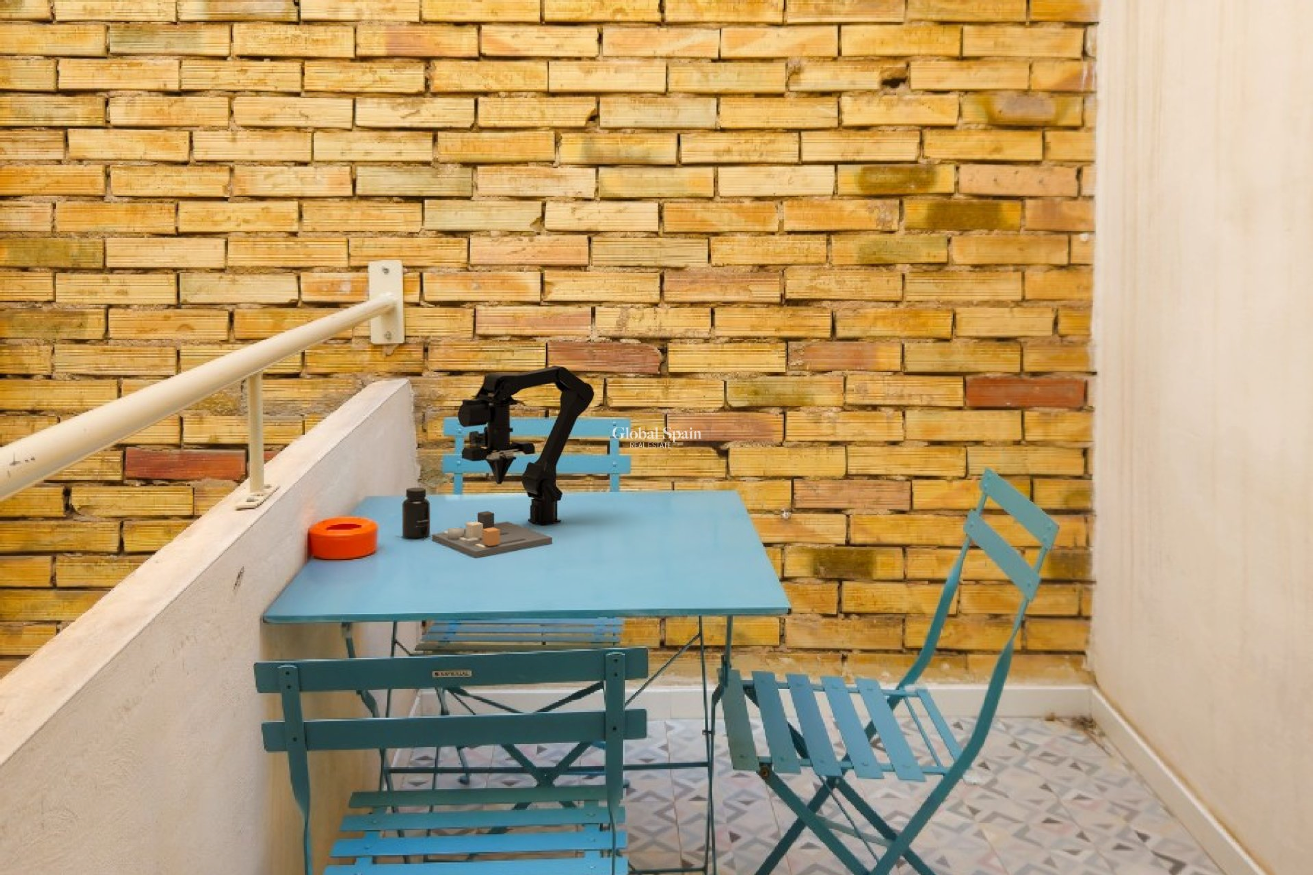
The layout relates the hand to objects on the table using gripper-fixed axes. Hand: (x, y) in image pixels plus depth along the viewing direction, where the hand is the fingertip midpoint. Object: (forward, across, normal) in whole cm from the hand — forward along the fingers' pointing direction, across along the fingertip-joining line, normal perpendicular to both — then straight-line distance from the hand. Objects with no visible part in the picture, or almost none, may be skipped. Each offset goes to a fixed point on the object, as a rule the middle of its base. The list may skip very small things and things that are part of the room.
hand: (499, 483), depth 313 cm
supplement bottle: (+12, +20, -7) cm, 24 cm away
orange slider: (+10, +13, +16) cm, 23 cm away
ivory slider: (+10, +13, +9) cm, 19 cm away
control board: (+12, +8, +9) cm, 17 cm away
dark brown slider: (+10, +5, +1) cm, 11 cm away
